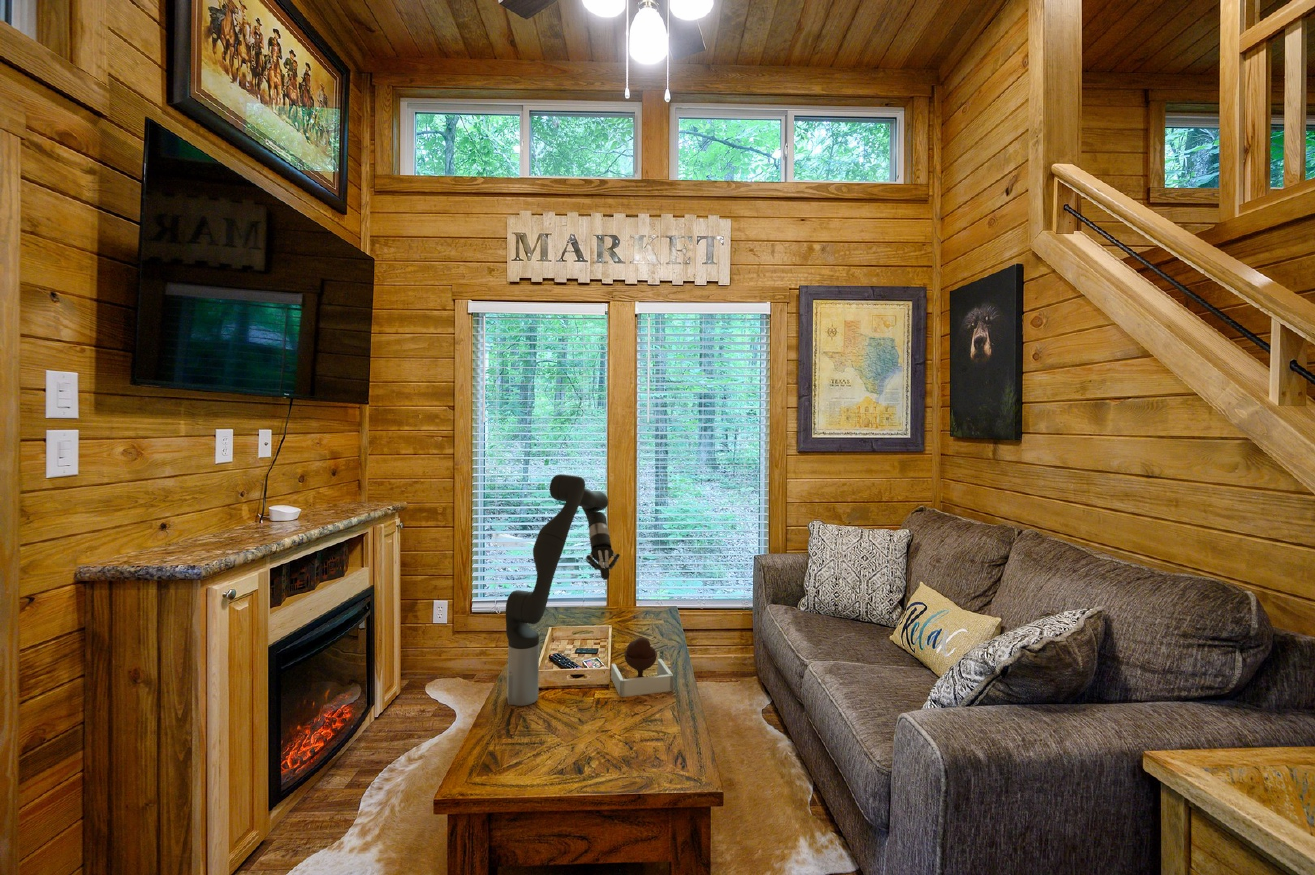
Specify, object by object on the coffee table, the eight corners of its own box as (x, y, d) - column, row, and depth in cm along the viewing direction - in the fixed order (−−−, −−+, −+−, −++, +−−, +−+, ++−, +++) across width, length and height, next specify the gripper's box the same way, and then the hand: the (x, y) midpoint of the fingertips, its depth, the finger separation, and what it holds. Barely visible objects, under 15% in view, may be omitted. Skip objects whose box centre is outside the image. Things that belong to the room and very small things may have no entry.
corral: (620, 697, 183) (620, 681, 183) (611, 678, 196) (611, 664, 196) (673, 691, 188) (673, 675, 188) (660, 673, 201) (661, 658, 201)
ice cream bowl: (662, 680, 196) (664, 635, 195) (642, 692, 187) (643, 645, 186) (637, 672, 202) (638, 628, 202) (617, 683, 193) (617, 637, 193)
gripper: (583, 532, 216) (588, 574, 205) (618, 531, 220) (625, 572, 209) (581, 544, 221) (586, 585, 210) (615, 543, 225) (622, 583, 214)
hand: (605, 578), depth 209 cm, fingers closed
